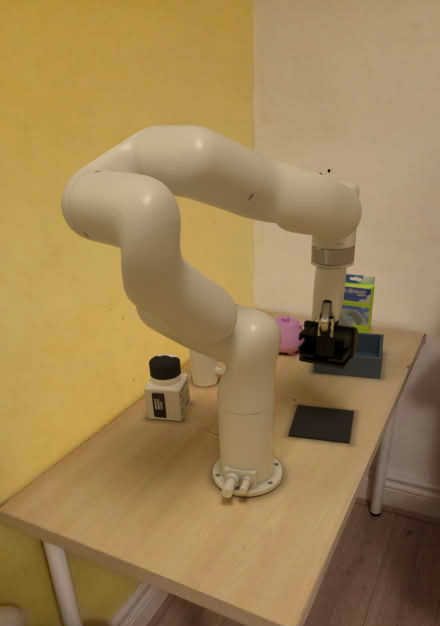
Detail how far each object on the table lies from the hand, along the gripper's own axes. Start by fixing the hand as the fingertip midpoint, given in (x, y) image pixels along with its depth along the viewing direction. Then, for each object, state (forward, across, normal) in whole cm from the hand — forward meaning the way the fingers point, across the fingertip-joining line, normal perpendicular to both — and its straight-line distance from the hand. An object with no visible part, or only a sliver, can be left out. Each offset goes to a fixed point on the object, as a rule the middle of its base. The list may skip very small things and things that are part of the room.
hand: (327, 345), depth 104 cm
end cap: (+3, 0, 0) cm, 3 cm away
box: (+17, -45, +2) cm, 49 cm away
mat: (+17, +1, 0) cm, 17 cm away
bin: (+17, -29, +3) cm, 34 cm away
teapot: (+17, -34, -15) cm, 41 cm away
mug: (+18, -12, -28) cm, 35 cm away
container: (+18, +3, -33) cm, 38 cm away
